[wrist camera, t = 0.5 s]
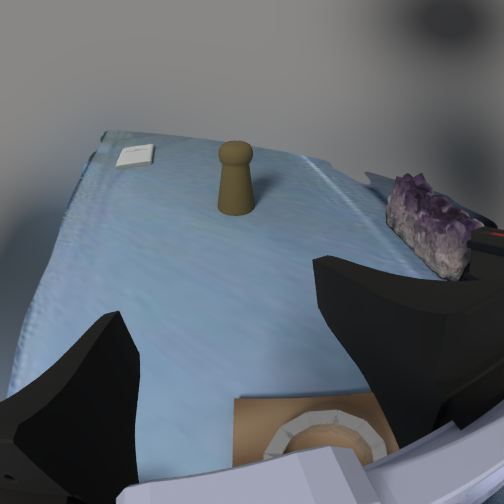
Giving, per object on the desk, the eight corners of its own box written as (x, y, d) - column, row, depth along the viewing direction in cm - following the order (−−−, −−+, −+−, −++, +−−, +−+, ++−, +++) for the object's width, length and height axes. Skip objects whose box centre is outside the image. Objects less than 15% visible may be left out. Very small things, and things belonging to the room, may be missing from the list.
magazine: (524, 378, 24) (551, 248, 20) (447, 341, 36) (454, 228, 32) (536, 363, 25) (560, 240, 21) (462, 330, 37) (470, 223, 33)
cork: (261, 204, 54) (263, 141, 47) (239, 219, 50) (239, 152, 43) (232, 194, 57) (232, 134, 50) (210, 208, 53) (206, 144, 46)
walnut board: (409, 530, 16) (414, 528, 15) (231, 553, 15) (231, 553, 15) (383, 394, 27) (387, 390, 26) (234, 403, 26) (234, 398, 26)
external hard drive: (116, 172, 67) (123, 153, 76) (151, 167, 68) (154, 149, 78) (115, 165, 66) (122, 147, 75) (150, 160, 67) (153, 143, 77)
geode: (358, 216, 52) (374, 160, 47) (403, 214, 57) (418, 166, 51) (443, 291, 37) (475, 225, 32) (481, 277, 41) (507, 222, 36)
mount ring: (385, 512, 17) (395, 508, 16) (263, 527, 17) (264, 526, 15) (369, 414, 24) (376, 405, 23) (261, 422, 24) (262, 413, 23)
